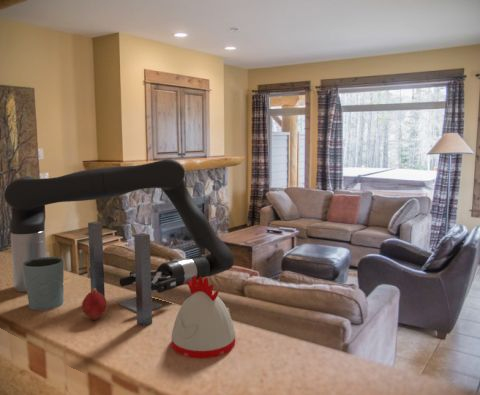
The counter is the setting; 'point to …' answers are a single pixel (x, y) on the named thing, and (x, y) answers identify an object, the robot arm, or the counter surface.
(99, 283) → the left post
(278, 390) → the counter surface
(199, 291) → the kitchen timer
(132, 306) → the mat
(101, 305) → the onion
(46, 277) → the teal cup
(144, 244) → the right post
